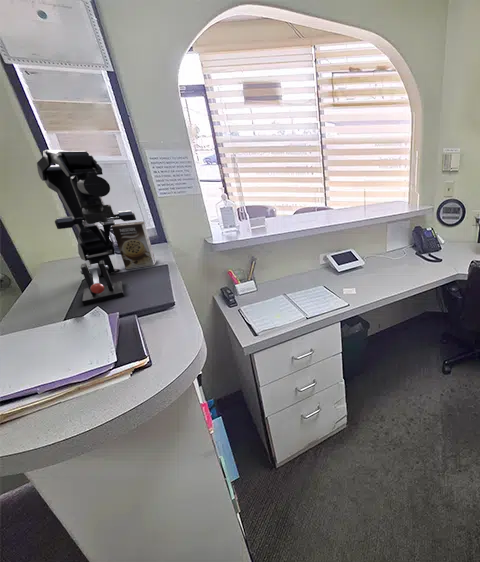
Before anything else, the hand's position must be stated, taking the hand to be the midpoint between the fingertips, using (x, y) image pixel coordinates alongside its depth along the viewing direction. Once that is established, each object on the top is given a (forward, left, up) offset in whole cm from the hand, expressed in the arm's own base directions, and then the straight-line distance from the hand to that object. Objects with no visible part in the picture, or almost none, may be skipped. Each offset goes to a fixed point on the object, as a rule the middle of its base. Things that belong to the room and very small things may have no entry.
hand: (107, 245), depth 99 cm
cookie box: (-9, +14, -12) cm, 21 cm away
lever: (+12, -13, -7) cm, 19 cm away
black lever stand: (+8, -10, -12) cm, 18 cm away
